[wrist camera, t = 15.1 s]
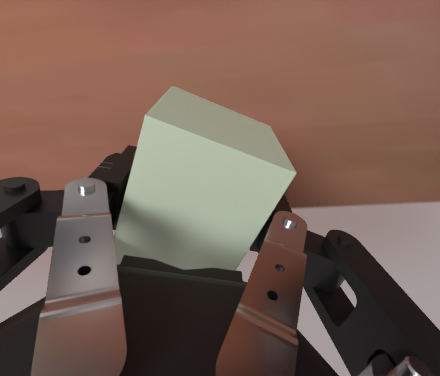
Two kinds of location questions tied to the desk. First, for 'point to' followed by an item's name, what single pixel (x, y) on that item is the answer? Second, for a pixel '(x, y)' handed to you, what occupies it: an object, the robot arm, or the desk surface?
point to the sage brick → (199, 184)
